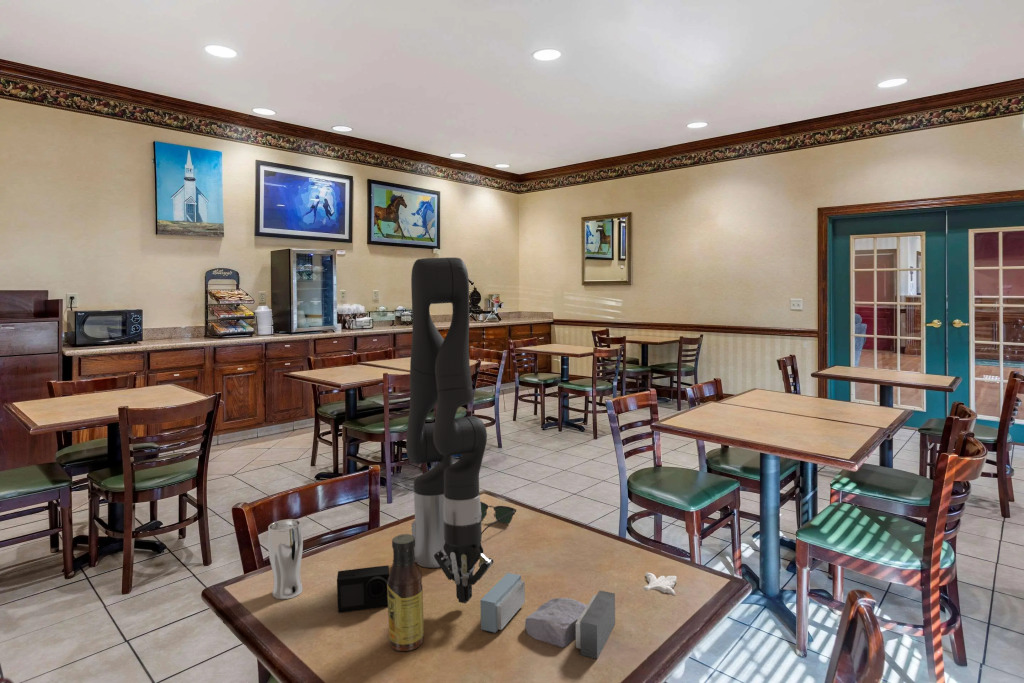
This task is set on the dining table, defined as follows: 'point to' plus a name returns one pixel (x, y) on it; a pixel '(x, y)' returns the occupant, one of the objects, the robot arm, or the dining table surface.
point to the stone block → (555, 621)
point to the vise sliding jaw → (502, 602)
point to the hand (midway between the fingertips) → (464, 601)
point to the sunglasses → (498, 513)
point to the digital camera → (362, 588)
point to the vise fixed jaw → (595, 624)
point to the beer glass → (286, 557)
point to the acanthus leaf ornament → (661, 583)
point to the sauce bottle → (405, 596)
